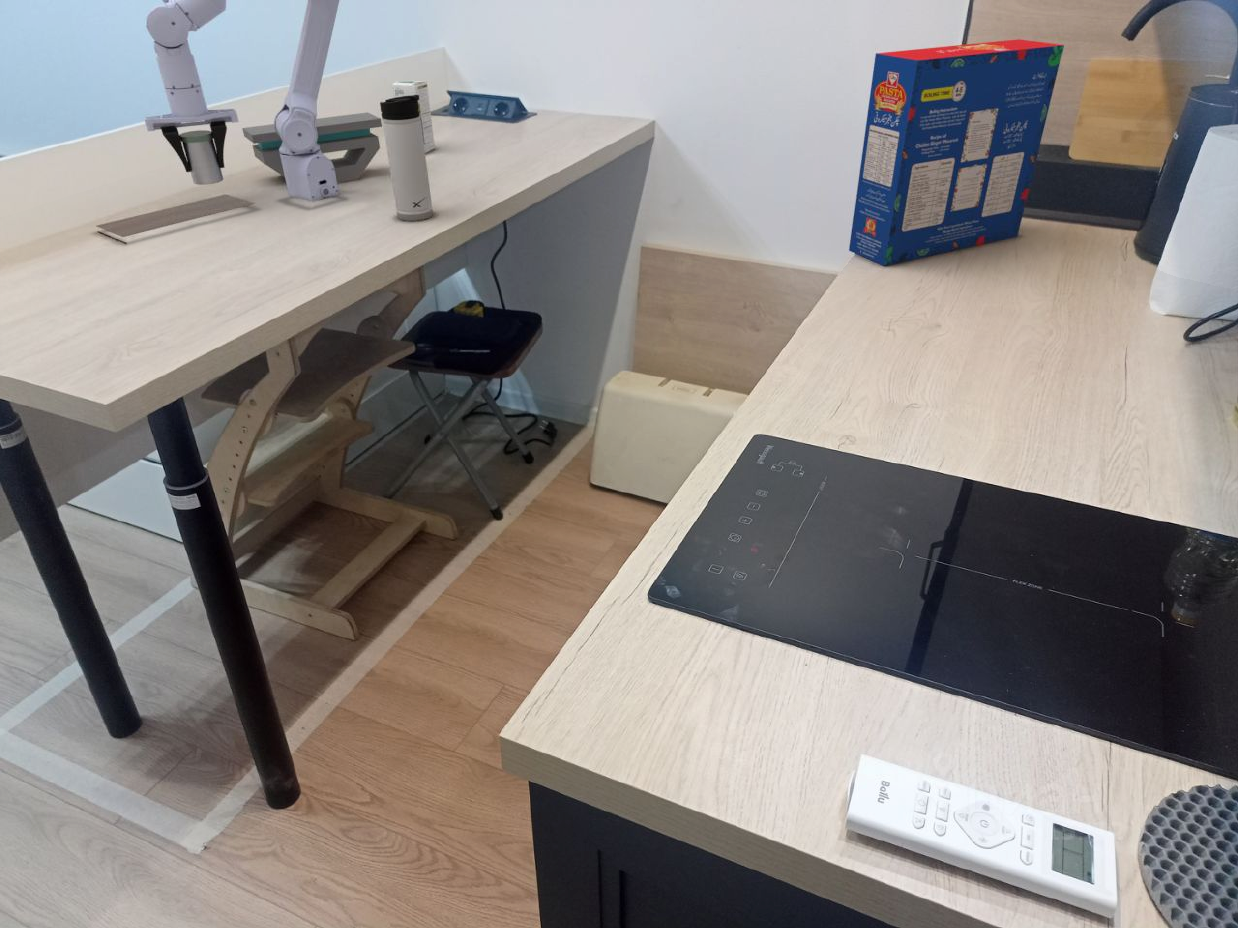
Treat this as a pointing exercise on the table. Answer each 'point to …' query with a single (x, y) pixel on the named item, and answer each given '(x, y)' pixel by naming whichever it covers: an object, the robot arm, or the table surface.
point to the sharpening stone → (326, 143)
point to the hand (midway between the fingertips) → (205, 169)
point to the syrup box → (424, 107)
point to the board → (172, 215)
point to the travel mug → (407, 157)
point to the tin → (201, 157)
